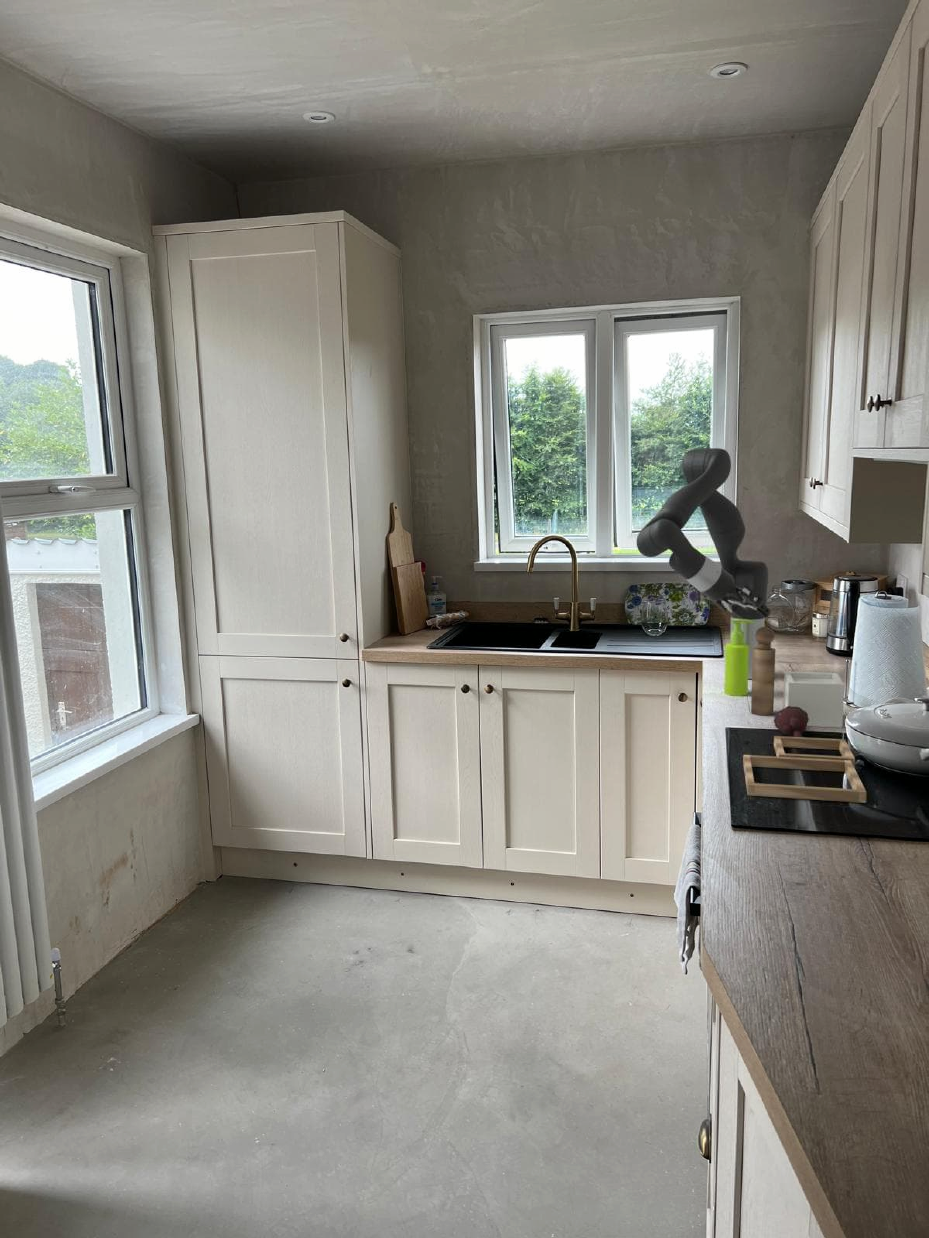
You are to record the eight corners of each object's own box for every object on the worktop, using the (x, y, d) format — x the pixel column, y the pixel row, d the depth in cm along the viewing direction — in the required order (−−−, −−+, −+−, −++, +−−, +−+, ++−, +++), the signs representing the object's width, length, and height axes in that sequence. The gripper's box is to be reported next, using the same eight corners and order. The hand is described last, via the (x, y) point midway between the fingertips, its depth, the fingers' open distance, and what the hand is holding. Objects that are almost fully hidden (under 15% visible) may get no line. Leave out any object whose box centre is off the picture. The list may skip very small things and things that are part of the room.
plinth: (782, 711, 225) (784, 671, 223) (834, 713, 222) (836, 673, 220) (787, 725, 213) (788, 682, 212) (842, 727, 210) (844, 684, 209)
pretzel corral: (743, 764, 187) (743, 754, 186) (850, 770, 182) (850, 760, 181) (747, 795, 169) (747, 784, 169) (865, 802, 164) (866, 792, 164)
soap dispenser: (752, 696, 240) (754, 621, 237) (725, 695, 241) (727, 621, 238) (750, 691, 246) (752, 617, 242) (723, 690, 247) (725, 617, 244)
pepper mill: (750, 709, 227) (753, 624, 224) (772, 710, 226) (775, 625, 222) (751, 715, 222) (754, 628, 219) (774, 716, 221) (777, 629, 218)
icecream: (766, 699, 213) (776, 722, 198) (799, 692, 211) (811, 715, 196) (773, 726, 214) (783, 751, 200) (805, 719, 212) (818, 744, 198)
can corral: (773, 744, 199) (774, 735, 199) (844, 748, 195) (844, 739, 195) (778, 764, 186) (779, 754, 186) (854, 768, 183) (855, 758, 182)
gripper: (733, 561, 212) (783, 600, 216) (698, 568, 225) (745, 604, 229) (719, 588, 210) (769, 627, 214) (684, 593, 224) (732, 629, 228)
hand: (757, 615), depth 222 cm, fingers open, 8 cm apart
